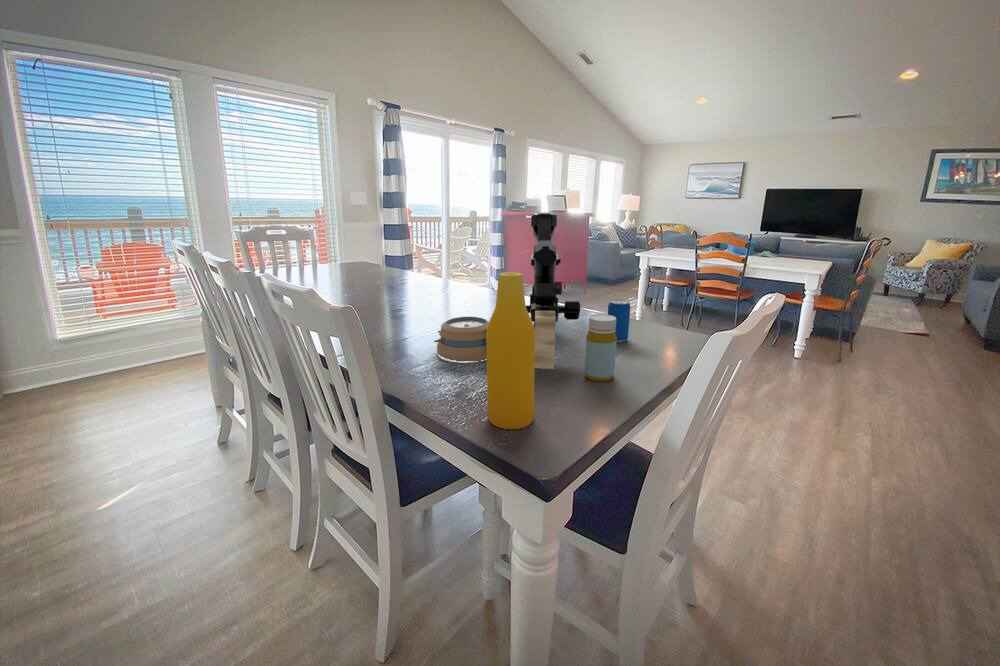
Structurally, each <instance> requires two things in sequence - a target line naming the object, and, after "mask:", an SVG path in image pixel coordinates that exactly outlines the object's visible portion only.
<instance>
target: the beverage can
mask: <svg viewBox="0 0 1000 666" xmlns="http://www.w3.org/2000/svg"><path fill="white" fill-rule="evenodd" d="M607 315H612V316H614V317H616V327H615V328H616V329H615V333H616V336H617V343H623V341H624V342H625V341H627V340H628V339H629V327H630V319H631V318H630V316H631V304H630V301H629V300H626V299H611V300H610V299H609V303H608V305H607Z"/></svg>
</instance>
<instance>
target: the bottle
mask: <svg viewBox="0 0 1000 666" xmlns="http://www.w3.org/2000/svg"><path fill="white" fill-rule="evenodd" d="M615 327H616V317H614V316H612V315H608V314H607V313H605V314H603V313H602V314H601V313H598V314H597V313H596V314H592V315H591V314H590V315H589V317H588V331H587V334H586V339H585V359H584V376H585V377H586V378H587V379H588V380H589V381H592V382H597V383H598V382H599V383H605V381H606V382H608V381H609V380H610V381H611V380H612V379H613V378H614V377H615V372H616V371H615V369H616V355H617V353H616V352H617V343H618V342H617V336H616V333H615V329H616V328H615Z"/></svg>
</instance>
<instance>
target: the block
mask: <svg viewBox="0 0 1000 666" xmlns="http://www.w3.org/2000/svg"><path fill="white" fill-rule="evenodd" d="M556 324H557V322H556V315H555V311H535V368H538V369H537V370H555V357H556V356H555V354H556V353H555V352H556V351H555V350H556V327H557V326H556ZM539 368H541V369H539Z"/></svg>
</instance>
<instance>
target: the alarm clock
mask: <svg viewBox="0 0 1000 666" xmlns="http://www.w3.org/2000/svg"><path fill="white" fill-rule="evenodd" d="M489 321H490V320H487V319H485V318H482V317H478V316H460V317H459V316H458V317H452V318H451V319H448V320H446V321H445V322H443V323H442V324H441V325H440V330H438V331H437V333H439V337H440V338H438V339H436V340H433V343H437V345H436V351H437V352H436V354H437V353H438V354H439V355H440V356H442V357H444V358H447V359H450V360H456V361H481V360H485V359H487V345H486V333H487V327H488V324H489Z"/></svg>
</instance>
